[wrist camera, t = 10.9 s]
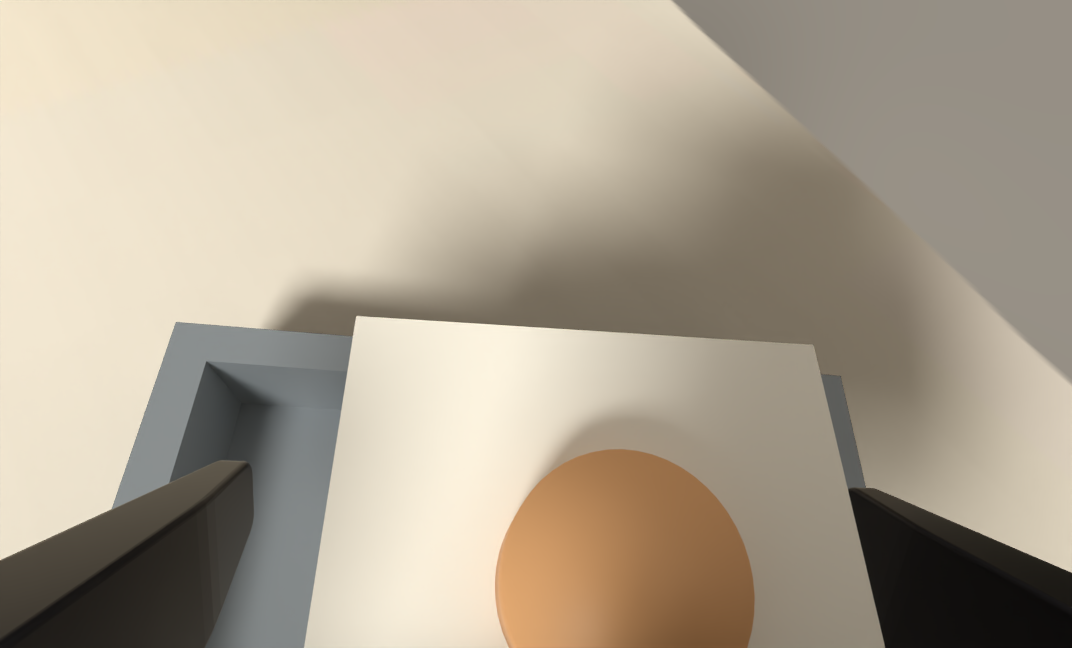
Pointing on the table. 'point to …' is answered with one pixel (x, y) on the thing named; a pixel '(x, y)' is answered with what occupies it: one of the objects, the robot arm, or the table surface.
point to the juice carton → (585, 495)
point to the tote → (280, 456)
